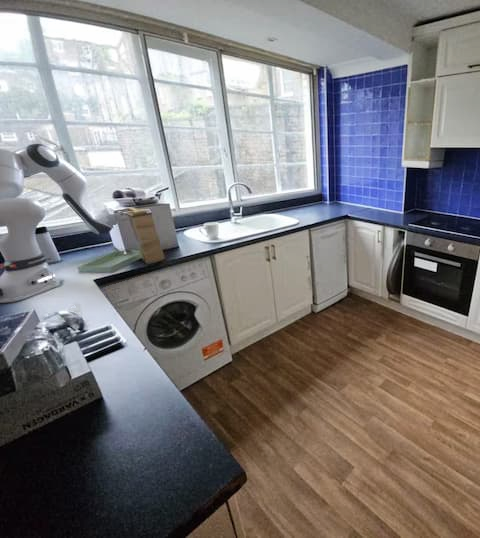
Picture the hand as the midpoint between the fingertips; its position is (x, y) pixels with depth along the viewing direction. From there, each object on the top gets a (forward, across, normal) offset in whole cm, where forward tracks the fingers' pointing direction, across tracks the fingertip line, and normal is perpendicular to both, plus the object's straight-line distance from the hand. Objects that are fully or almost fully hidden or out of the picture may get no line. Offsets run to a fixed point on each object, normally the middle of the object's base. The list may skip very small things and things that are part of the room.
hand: (131, 210), depth 157 cm
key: (+6, 0, +3) cm, 6 cm away
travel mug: (-40, -35, +7) cm, 53 cm away
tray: (-13, -14, +22) cm, 30 cm away
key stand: (-3, 0, +28) cm, 28 cm away
